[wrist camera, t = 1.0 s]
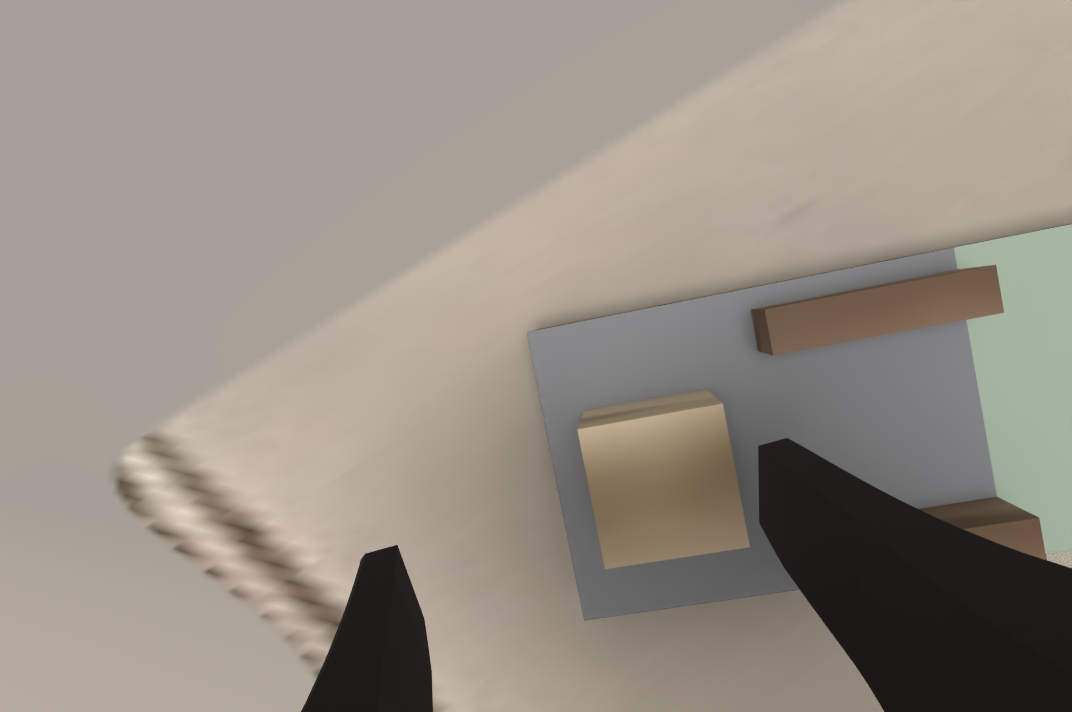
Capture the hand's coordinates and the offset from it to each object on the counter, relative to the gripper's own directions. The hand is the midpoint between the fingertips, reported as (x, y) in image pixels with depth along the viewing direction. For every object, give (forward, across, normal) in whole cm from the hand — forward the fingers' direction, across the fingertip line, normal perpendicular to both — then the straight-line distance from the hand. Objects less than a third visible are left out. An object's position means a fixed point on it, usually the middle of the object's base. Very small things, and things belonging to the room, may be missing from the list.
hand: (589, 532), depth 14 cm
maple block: (+10, -4, +7) cm, 13 cm away
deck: (+10, -15, +8) cm, 20 cm away
